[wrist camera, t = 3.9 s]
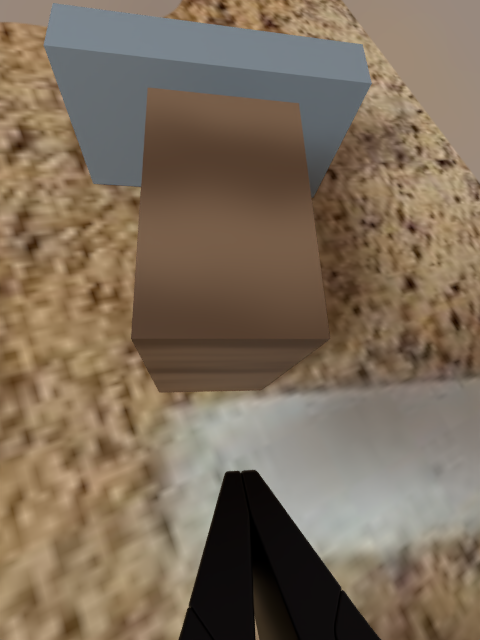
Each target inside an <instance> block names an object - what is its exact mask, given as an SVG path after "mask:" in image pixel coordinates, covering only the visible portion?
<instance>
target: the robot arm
mask: <svg viewBox="0 0 480 640" xmlns="http://www.w3.org/2000/svg"><path fill="white" fill-rule="evenodd" d="M254 615H255V617H254ZM255 620H256V625H257V630H258V635H259V640H381V639H380V638H379V637H378V635H377V634H376V633H375V632H374V631H373V629H372V628H371V627H370V625H369V624H368V623H367V621H366V620H365V619H364V617H363V616H362V615H361V613H360V612H359V611H358V610H357V608H356V607H355V605H354V604H353V603H352V601H351V600H350V599H349V597H348V596H347V594H346V593H345V592H344V591H343V590H342V591H341V586H340V585H339V584H338V582H337V581H336V579H335V578H334V577H333V575H332V574H331V572H330V571H329V570H328V568H327V567H326V566H325V564H324V563H323V561H322V560H321V559H320V557H319V556H318V555H317V553H316V552H315V550H314V549H313V548H312V546H311V545H310V543H309V542H308V541H307V539H306V538H305V537H304V535H303V534H302V532H301V531H300V530H299V528H298V527H297V526H296V524H295V523H294V521H293V520H292V519H291V517H290V516H289V514H288V513H287V512H286V510H285V509H284V508H283V506H282V505H281V503H280V502H279V501H278V499H277V498H276V497H275V495H274V494H273V492H272V491H271V490H270V488H269V487H268V485H267V484H266V483H265V481H264V480H263V479H262V477H261V476H260V474H259V473H258V472H257V471H256V470H244V471H242V472H240V471H227V472H226V473H225V475H224V479H223V482H222V486H221V490H220V493H219V497H218V500H217V504H216V508H215V511H214V515H213V519H212V522H211V526H210V529H209V533H208V537H207V540H206V544H205V548H204V551H203V555H202V558H201V562H200V566H199V569H198V573H197V577H196V580H195V584H194V587H193V591H192V595H191V598H190V602H189V608H188V609H187V612H186V616H185V619H184V623H183V627H182V630H181V633H180V637H179V640H255Z"/></svg>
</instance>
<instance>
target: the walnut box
mask: <svg viewBox="0 0 480 640" xmlns="http://www.w3.org/2000/svg"><path fill="white" fill-rule="evenodd" d="M131 339H132V341H133V343H134V345H135V347H136V349H137V351H138V353H139V354H140V356H141V358H142V360H143V362H144V364H145V366H146V368H147V370H148V372H149V374H150V375H151V377H152V379H153V381H154V383H155V385H156V387H157V389H158V391H159V392H203V391H250V390H262V389H263V388H264V387H266V386H267V385H269V384H270V383H271V382H273V381H274V380H275V379H277V378H278V377H279V376H281V375H282V374H283V373H285V372H286V371H287V370H289V369H290V368H291V367H293V366H294V365H296V364H297V363H298V362H300V361H301V360H302V359H304V358H305V357H306V356H308V355H309V354H310V353H312V352H313V351H314V350H316V349H317V348H318V347H320V346H321V345H323V344H324V343H325V342H327V341H328V340H329V339H330V334H329V326H328V319H327V311H326V304H325V296H324V289H323V281H322V273H321V266H320V258H319V251H318V243H317V236H316V228H315V221H314V213H313V205H312V198H311V190H310V183H309V175H308V168H307V160H306V153H305V145H304V137H303V130H302V122H301V115H300V107H299V103H292V102H282V101H273V100H263V99H253V98H244V97H234V96H225V95H215V94H206V93H196V92H186V91H177V90H167V89H158V88H148V89H147V105H146V120H145V135H144V151H143V166H142V181H141V196H140V212H139V227H138V242H137V257H136V273H135V288H134V303H133V318H132V334H131Z"/></svg>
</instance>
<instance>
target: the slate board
mask: <svg viewBox="0 0 480 640" xmlns="http://www.w3.org/2000/svg"><path fill="white" fill-rule="evenodd" d="M44 47H45V50H46V53H47V56H48V58H49V61H50V64H51V67H52V70H53V72H54V75H55V78H56V81H57V83H58V86H59V89H60V92H61V95H62V97H63V100H64V103H65V106H66V109H67V111H68V114H69V117H70V120H71V123H72V125H73V128H74V131H75V134H76V136H77V139H78V142H79V145H80V148H81V150H82V153H83V156H84V159H85V162H86V164H87V167H88V170H89V173H90V176H91V178H92V181H93V184H107V185H123V186H139V187H141V181H142V166H143V151H144V135H145V120H146V105H147V89H148V88H158V89H167V90H177V91H186V92H196V93H206V94H215V95H225V96H234V97H244V98H253V99H263V100H273V101H282V102H292V103H299V107H300V115H301V122H302V130H303V137H304V145H305V153H306V160H307V168H308V175H309V183H310V190H311V197H314V195H315V193H316V191H317V189H318V188H319V186H320V184H321V182H322V180H323V178H324V176H325V174H326V172H327V170H328V168H329V166H330V164H331V162H332V160H333V158H334V156H335V154H336V152H337V150H338V148H339V146H340V144H341V142H342V140H343V138H344V136H345V135H346V133H347V131H348V129H349V127H350V125H351V123H352V121H353V119H354V117H355V115H356V113H357V111H358V109H359V107H360V105H361V103H362V101H363V99H364V97H365V95H366V93H367V91H368V89H369V87H370V85H371V84H372V83H371V79H370V75H369V70H368V66H367V62H366V58H365V53H364V49H363V45H362V44H355V43H347V42H340V41H332V40H325V39H317V38H310V37H302V36H295V35H287V34H280V33H272V32H265V31H257V30H250V29H242V28H235V27H227V26H220V25H213V24H205V23H198V22H190V21H183V20H175V19H168V18H160V17H152V16H145V15H138V14H130V13H122V12H115V11H107V10H100V9H93V8H85V7H77V6H70V5H62V4H55V3H53V5H52V9H51V14H50V19H49V23H48V28H47V33H46V37H45V42H44Z"/></svg>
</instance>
